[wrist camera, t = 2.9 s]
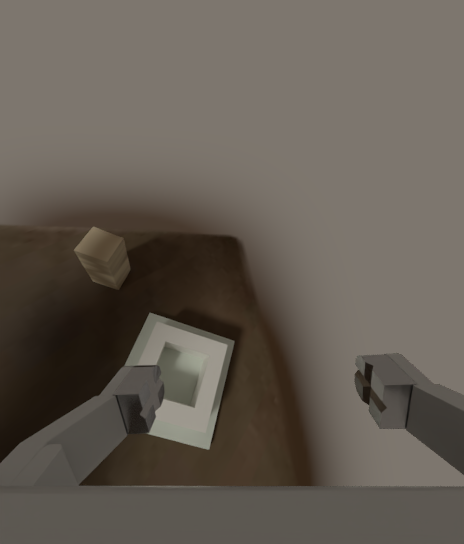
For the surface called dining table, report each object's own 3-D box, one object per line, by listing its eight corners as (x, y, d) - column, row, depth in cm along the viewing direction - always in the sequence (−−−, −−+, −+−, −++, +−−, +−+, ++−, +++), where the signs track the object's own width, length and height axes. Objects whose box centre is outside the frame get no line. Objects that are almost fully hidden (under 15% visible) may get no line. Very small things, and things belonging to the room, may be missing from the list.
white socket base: (99, 419, 26) (87, 426, 22) (150, 314, 34) (148, 302, 29) (207, 447, 28) (217, 459, 24) (232, 342, 35) (244, 335, 31)
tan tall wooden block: (92, 281, 33) (73, 250, 26) (106, 261, 35) (93, 226, 28) (118, 290, 34) (107, 262, 26) (130, 269, 36) (123, 238, 28)
